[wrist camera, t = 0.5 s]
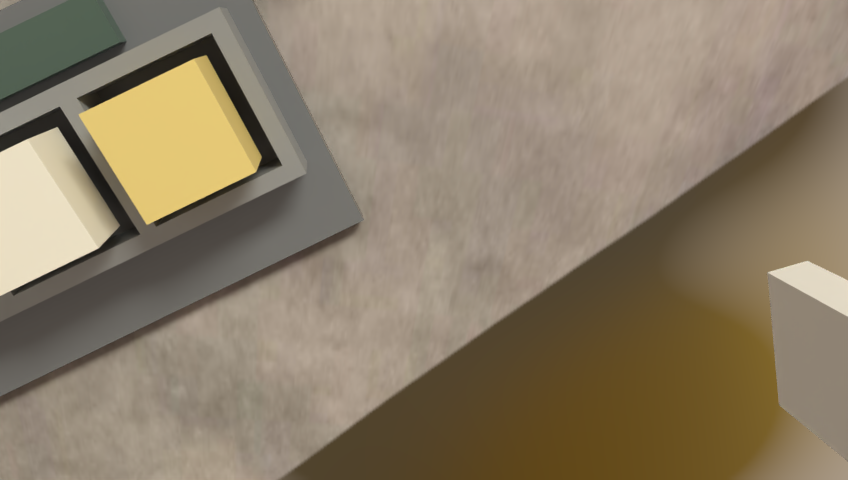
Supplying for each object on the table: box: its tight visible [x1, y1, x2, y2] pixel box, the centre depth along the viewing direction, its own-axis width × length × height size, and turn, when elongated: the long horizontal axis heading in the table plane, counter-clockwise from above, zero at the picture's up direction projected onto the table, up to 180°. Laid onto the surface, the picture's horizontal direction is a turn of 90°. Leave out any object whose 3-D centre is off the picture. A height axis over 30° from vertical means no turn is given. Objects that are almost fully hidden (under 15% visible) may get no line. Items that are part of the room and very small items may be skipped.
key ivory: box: [0, 127, 120, 296], centre depth 30 cm, size 5×5×4 cm
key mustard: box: [79, 55, 262, 225], centre depth 31 cm, size 5×5×4 cm
